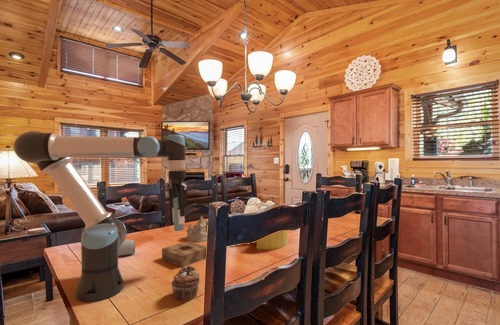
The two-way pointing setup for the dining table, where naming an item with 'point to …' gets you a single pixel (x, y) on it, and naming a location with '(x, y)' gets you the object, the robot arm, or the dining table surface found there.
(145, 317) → the dining table surface
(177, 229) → the peg
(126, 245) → the ceramic mug
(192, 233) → the sand castle
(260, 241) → the cheese
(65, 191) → the robot arm
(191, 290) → the cupcake
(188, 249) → the socket block
